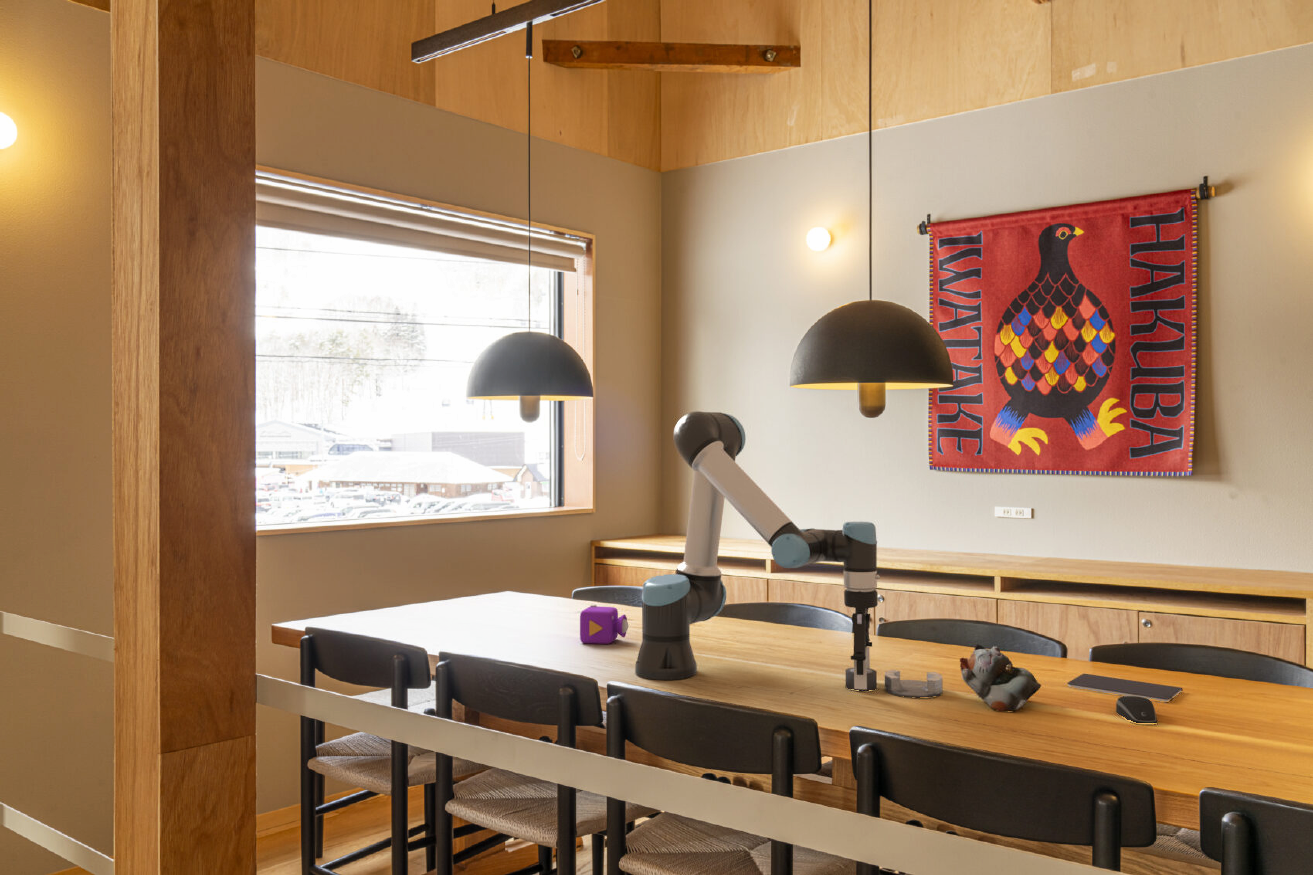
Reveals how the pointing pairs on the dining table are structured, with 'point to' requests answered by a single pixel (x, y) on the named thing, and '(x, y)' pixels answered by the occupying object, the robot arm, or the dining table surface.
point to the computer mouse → (1136, 709)
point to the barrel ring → (913, 685)
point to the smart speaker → (870, 679)
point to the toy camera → (601, 625)
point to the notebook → (1124, 687)
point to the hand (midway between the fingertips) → (862, 681)
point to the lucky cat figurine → (997, 679)
